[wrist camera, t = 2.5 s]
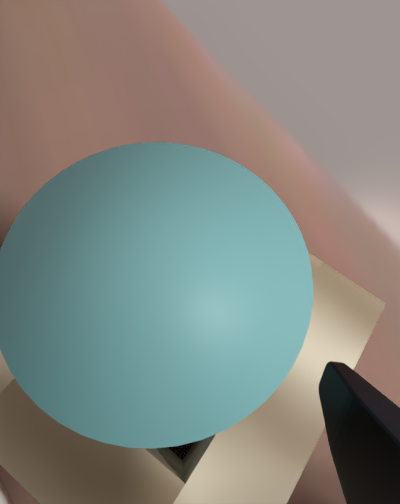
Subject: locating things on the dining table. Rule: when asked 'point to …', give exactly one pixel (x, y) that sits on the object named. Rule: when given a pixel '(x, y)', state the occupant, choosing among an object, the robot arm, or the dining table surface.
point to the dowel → (153, 295)
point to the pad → (4, 495)
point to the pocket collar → (203, 451)
